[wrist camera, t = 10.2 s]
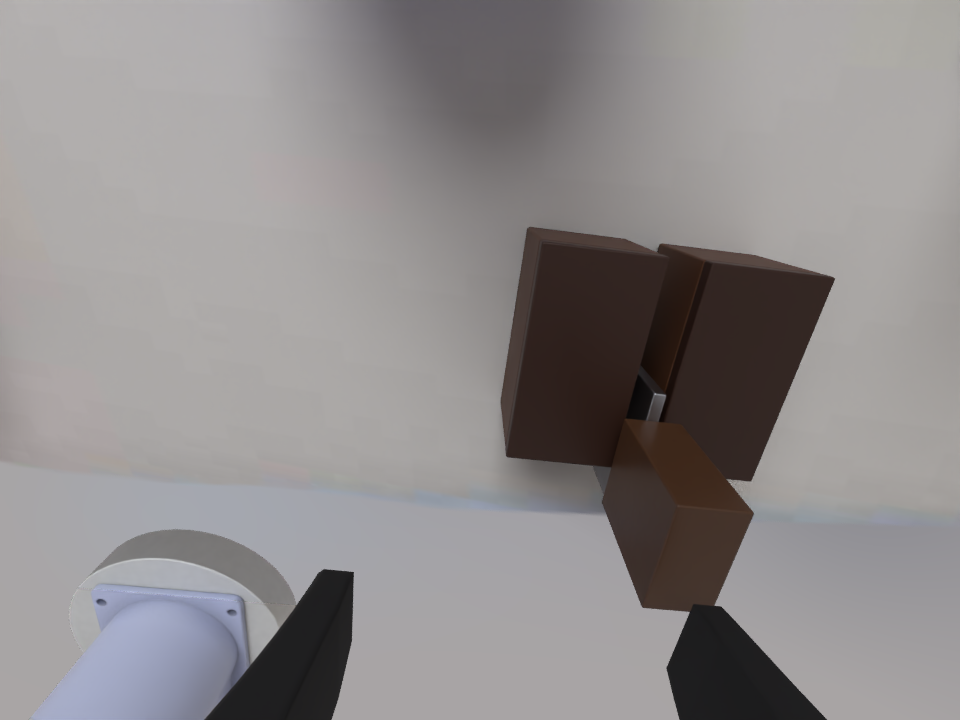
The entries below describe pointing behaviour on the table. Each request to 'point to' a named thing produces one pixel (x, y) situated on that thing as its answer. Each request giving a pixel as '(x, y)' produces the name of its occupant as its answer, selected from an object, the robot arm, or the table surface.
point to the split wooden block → (652, 346)
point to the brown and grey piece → (670, 508)
